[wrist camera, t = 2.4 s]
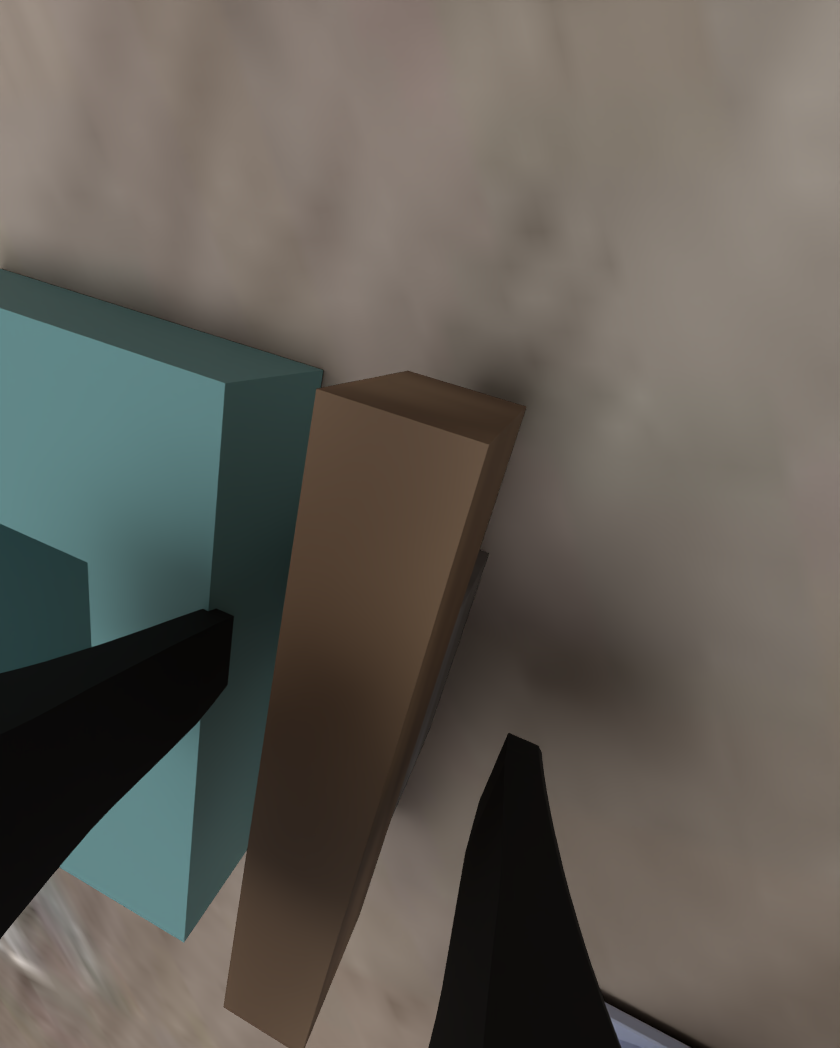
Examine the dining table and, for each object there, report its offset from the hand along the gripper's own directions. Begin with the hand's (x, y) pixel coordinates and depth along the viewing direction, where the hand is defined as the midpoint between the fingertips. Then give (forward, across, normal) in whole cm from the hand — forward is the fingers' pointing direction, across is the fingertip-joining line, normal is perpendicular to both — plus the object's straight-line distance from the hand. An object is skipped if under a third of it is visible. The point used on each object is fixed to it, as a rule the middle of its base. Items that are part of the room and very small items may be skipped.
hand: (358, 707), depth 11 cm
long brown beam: (+3, 0, 0) cm, 3 cm away
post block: (+3, +9, +3) cm, 10 cm away
